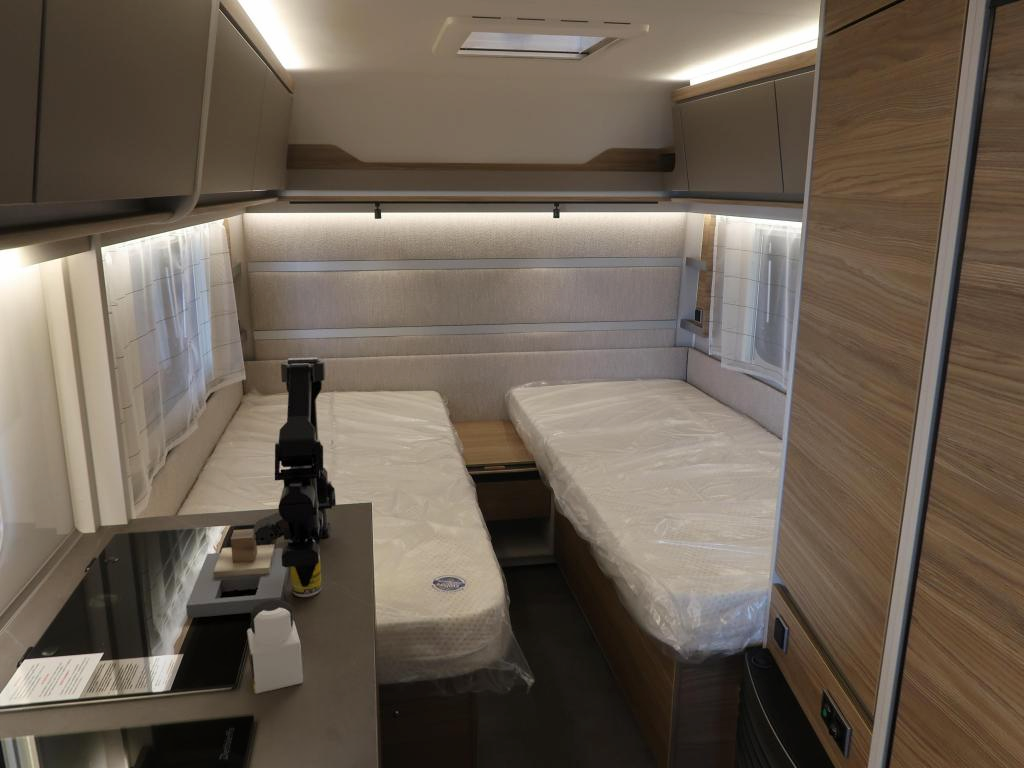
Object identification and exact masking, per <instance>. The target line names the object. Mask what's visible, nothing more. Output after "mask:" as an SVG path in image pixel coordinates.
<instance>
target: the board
mask: <svg viewBox="0 0 1024 768" xmlns="http://www.w3.org/2000/svg"><path fill="white" fill-rule="evenodd" d="M283 548H284V547H283ZM283 548H282V547H280V548H279V547H278V548H275V552H274V556H273V560H272V564H271V569H270V573H266V574H254V575H241V576H229V577H216V578H214V573H213V572H214V569H215V566H216V564H217V561H218V559H219V556H220V553H221V552H213V553H207V554H206V556H205V558H204V562H203V564H202V565H201V569H200V571H199V574H198V576H197V578H196V580H195V583H194V585H193V588H192V591H191V593H190V595H189V598H188V599H187V602H186V605H185V607H186V614H187V615H186V616H187V619H193V618H204V617H205V618H206V617H215V616H225V615H226V616H227V615H238V614H248V613H249V614H251V611H252V610H253V608H254V607H255V606H257V605H258V604H260V603H263V602H266V601H270V600H282V601H285V597H286V590H287V589H286V588H287V584H288V579H289V575H290V569H291V568H290V567H283V566H282V557H281V556H282V551H283ZM256 588H258V589H256ZM245 589H246V590H245ZM248 589H250V590H256V593H255V594H254V595H242V596H231V597H229V596H228V597H222V594H223V593H225V592H235V591H234V590H238V591H249V590H248Z"/></svg>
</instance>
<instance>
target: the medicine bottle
mask: <svg viewBox="0 0 1024 768" xmlns="http://www.w3.org/2000/svg"><path fill="white" fill-rule="evenodd" d="M249 614H250V622H251V623H250V625H251V626H250V627H251V628H248V629H247V630H246V635H247V645H248V656H249V667H250V673H251V674H250V675H251V681H252V686H253V692H254V694H261V693H265V692H270V691H273V690H279V689H283V688H287V687H292V686H296V685H300V684H302V683H303V681H304V677H303V662H302V648H301V640H300V637H299V634H298V630H297V627H296V624H295V621H294V619H293V607H292V605H291V603H289V602H287V601H285V600H284V601H282V600H270V601H266V602H263V603H260V604H258V605H257V606H255V607H254V608H253V610H252V611H251V613H249Z"/></svg>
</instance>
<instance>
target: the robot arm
mask: <svg viewBox="0 0 1024 768" xmlns="http://www.w3.org/2000/svg"><path fill="white" fill-rule="evenodd" d="M319 359H320V358H319V357H318V356H312V357H311V356H310V357H308V356H307V357H288V358H287V363H281V364H280V374H281V383H285V385H286V392H288V393H287V413H286V414H287V417H286V422H285V423H284V424H283V425H282V426H281V427H280V429H279V434H278V441H275V443H274V481H283V489H282V491H281V495H280V500H279V502H278V512H275V513H273V514H270V515H268V516H265V517H264V518H261V519H258V520H257V521H256V522H255V524H254V527H253V528H252V529H253V531H254V534H255V540H256V542H258V543H259V545H268V543H270V542H272V541H274V540H278V539H280V538H282V537H283V540H284V541H287V540H290V541H291V542H287V543H286V545H284V546H283V551H282V556H281V557H282V566H283V567H295V569H296V571H297V574H298V577H299V579H300V582H301V585H302V586H303V587H305V586H308V585H309V582H310V580H311V577H312V574H313V572H314V569H315V567H316V564H318V563H319V555H321V553H320V552H321V551H320V542H321V539H322V538H329V537H330V530H331V523H330V522H328V510H329V509H330V510H332V509H333V507H335V506H336V505H337V503H336V502H337V501H336V499H337V498H336V490H335V487H334V486H333V484H332V481H329V477H328V476H329V475H328V470H326V468H325V467H324V445H322V442H321V440H320V439H319V434H318V433H319V431H318V430H319V429H318V417H317V398H318V396H319V394H320V392H321V391H322V387H323V381H325V380H326V364H325V362H324V361H323V362H322V361H321V360H319ZM280 466H282V467H283V468H285V469H283V468H282V469H280V468H281V467H280ZM306 539H307V541H306ZM313 540H314V541H315V542H314V541H313ZM298 541H299V542H298Z"/></svg>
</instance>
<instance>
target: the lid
mask: <svg viewBox="0 0 1024 768" xmlns="http://www.w3.org/2000/svg"><path fill="white" fill-rule="evenodd" d="M253 529H254V528H246V529H244V528H243V529H233V531H232V534H231V537H230V547H222V549H221V551H220V552H219V553H220V556H219V559H218V561H217V564H216V566H215V569H214V572H213V573H214V578H216V577H229V576H241V575H254V574H266V573H270V569H271V564H272V560H273V556H274V552H275V549H276V547H275V546H276V545H275V543H274V544H265V545H260V544H259V545H257V541H256V540H255V534H254V531H253Z"/></svg>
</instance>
